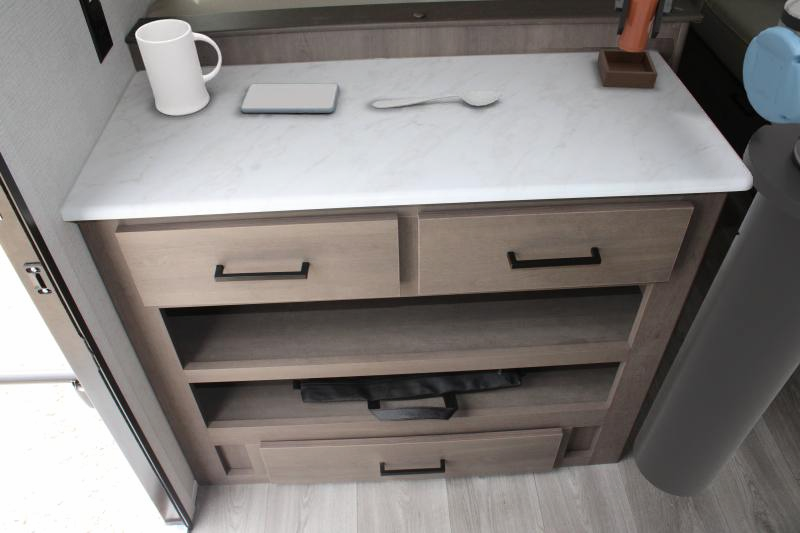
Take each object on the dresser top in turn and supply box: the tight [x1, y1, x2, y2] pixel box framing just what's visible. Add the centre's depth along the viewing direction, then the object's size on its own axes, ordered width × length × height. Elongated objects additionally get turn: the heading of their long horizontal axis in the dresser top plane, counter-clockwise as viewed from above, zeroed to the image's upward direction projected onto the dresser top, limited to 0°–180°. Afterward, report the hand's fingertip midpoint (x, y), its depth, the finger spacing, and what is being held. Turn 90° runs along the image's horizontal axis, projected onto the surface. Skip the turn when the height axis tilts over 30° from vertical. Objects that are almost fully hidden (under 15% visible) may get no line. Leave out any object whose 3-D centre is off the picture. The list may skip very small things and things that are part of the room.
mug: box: [134, 18, 223, 117], centre depth 99 cm, size 12×8×12 cm
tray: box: [596, 48, 658, 89], centre depth 107 cm, size 8×8×3 cm
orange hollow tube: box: [617, 0, 659, 52], centre depth 99 cm, size 4×4×14 cm
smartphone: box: [239, 82, 340, 114], centre depth 102 cm, size 8×1×15 cm
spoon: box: [372, 90, 502, 109], centre depth 101 cm, size 4×21×2 cm, turn 92°
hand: (637, 33), depth 99 cm, fingers closed on orange hollow tube, 4 cm apart
